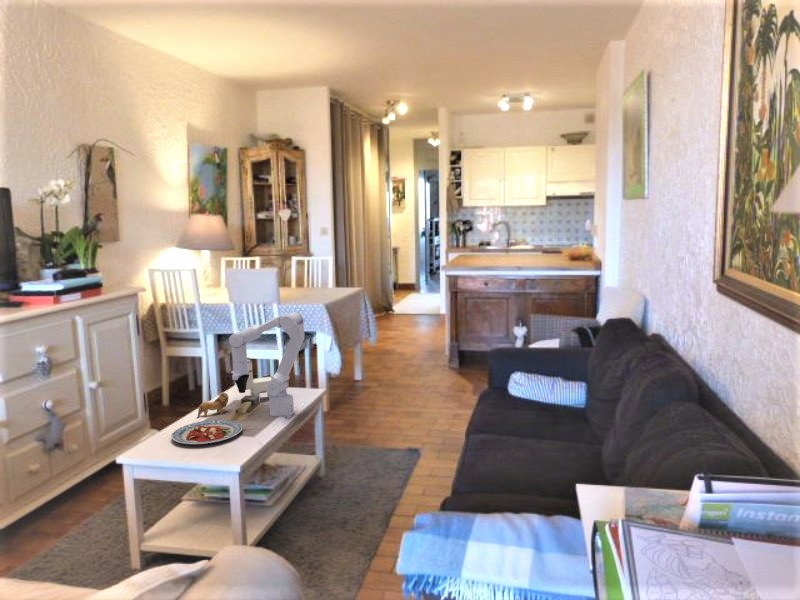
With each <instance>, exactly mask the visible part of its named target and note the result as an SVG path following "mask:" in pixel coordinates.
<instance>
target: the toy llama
mask: <svg viewBox="0 0 800 600" xmlns="http://www.w3.org/2000/svg"><path fill="white" fill-rule="evenodd" d="M247 366H248V367H249V372H248V373H247V374H248V375H249V378H248V380H247V384H246V390H249V391H250V396H259V404H261V394H265V393H266V394H267V398H268V399H269V394H268V393H267V391H266V385H267V384H268V383H269V382H270V381H271V379H272V377H273V376H265V377H258V378H256V377H255V378H254V374H253V373H254V371H253V361H252V359H250V358H249V357H247ZM246 390H245V391H246Z"/></svg>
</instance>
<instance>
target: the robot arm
mask: <svg viewBox="0 0 800 600" xmlns="http://www.w3.org/2000/svg"><path fill="white" fill-rule="evenodd" d="M276 327H277V328H279V329H282V330H283V331H284V332H285V333H286V334H287V335H288V337H289V338H290V339H289V341H288V344H287V346H286V347H285V350H284V353H283V356H282V358H281V360H280V363H279V365H278V368H276V369H277V370H276V372H275V373H274V375H273V376H272V379H271V381H270V382H269V383H268V384H267V385H266V391H267V392H266V394H267V393H268V394H269V398H268V400H269V414H270V416H271V417H284V418H285V419H290V418H291V417H292V416H293V414H294V413H295V409H294V408H295V407H294V406H295V405H294V397H293V394H291V393H287V389H288V388H289V387H290V386H289V384H290V383H289V380H290V377H291V376H290V374H291V370H292V368H293V366H294V364H295V361H296V359H297V358H298V357H297V356H298V355H299V351H300V350H301V347H302V345H303V343H304V340H305V320H304V317H303V315H302V314H301V313H300V312H299V311H295V310H294V311H291V312H290V313H289V312H288V313H285V314H280V315H278V316H276V317H274V318H272V319H269V320H267V321H266V322H264V323H261V324H259V325H257V324H251V323H250V324H249V325H248V327H246V328H243V329H242V328H241V329H240V330H238V332H235V333H232V334H231V335H230V336H229V337H228V342H229V345H230V346H231V350H232V366H233V370H232V371H231V372H230V373H231V374H232V375H231V377H232V381H234V383H235V385H236V387H237V390H238V393H239V394H245V393H246V384H247V380H248V378H249V375H248V374H247V373H248V372H249V367H248V366H247V358H248V354H247V344H248V343H251V342H252V341H255V340H257V339H259V338H261V337H262V333H265V332H266V331H268V330H272V329H273V328H274V329H275V328H276Z"/></svg>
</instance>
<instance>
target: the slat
mask: <svg viewBox="0 0 800 600" xmlns="http://www.w3.org/2000/svg"><path fill="white" fill-rule="evenodd" d="M252 406H253V401H245V402H244V403H243V404H242V405H239V406H238V407H237V408H238V414H245V413H246V412H247V411H248V409H250V408H251V407H252Z"/></svg>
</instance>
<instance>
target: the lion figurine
mask: <svg viewBox="0 0 800 600" xmlns="http://www.w3.org/2000/svg"><path fill="white" fill-rule="evenodd" d="M229 398H230V397H229V395H228V393H226V392H221V393H219V396H218V397H217V398H216V399H215V400H213V401H204V402H201V404H200V405H199V407H198V411H197V412H198V413H197V417H196V420H197V419H199V418H200V417H201V414H202V413H204V415H203V416H204V417H205V418H208V412H209V411H216V413H217V414H220V415H223V410H224V408H226V406H228V402H229Z"/></svg>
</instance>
